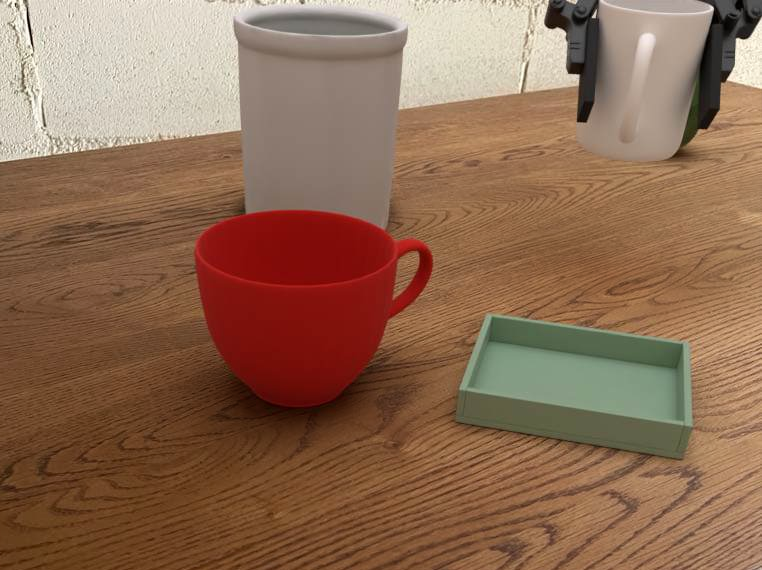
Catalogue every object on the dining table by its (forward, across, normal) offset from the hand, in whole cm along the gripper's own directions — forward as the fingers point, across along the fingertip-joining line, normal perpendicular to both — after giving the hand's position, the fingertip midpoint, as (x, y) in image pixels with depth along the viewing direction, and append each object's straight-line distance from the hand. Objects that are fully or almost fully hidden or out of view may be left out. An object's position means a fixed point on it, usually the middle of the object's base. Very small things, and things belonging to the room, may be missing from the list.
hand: (646, 115), depth 68 cm
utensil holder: (0, +26, -21) cm, 33 cm away
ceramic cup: (+22, +22, +1) cm, 31 cm away
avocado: (-21, -12, -42) cm, 49 cm away
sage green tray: (+22, +4, +1) cm, 22 cm away
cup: (0, 0, -5) cm, 5 cm away
